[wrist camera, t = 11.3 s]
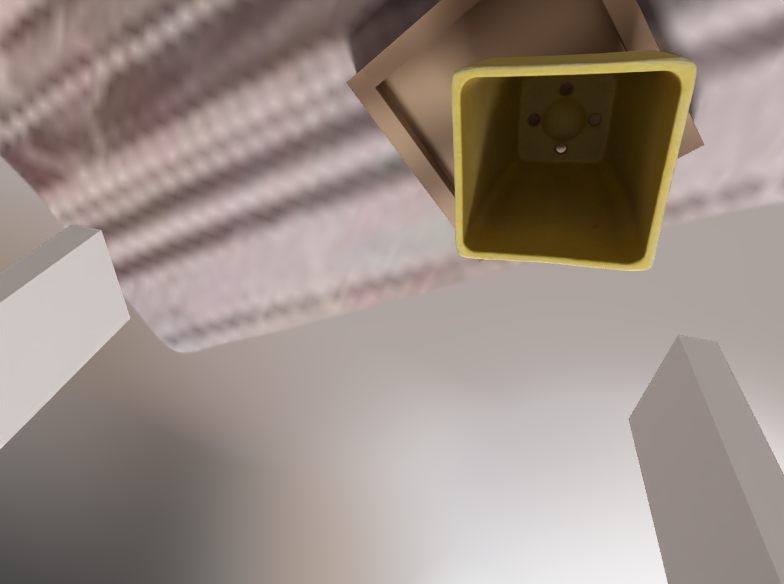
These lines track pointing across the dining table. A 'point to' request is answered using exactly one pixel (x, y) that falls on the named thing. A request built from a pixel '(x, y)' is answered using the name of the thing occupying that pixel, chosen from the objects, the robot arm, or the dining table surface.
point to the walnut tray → (477, 43)
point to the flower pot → (567, 156)
